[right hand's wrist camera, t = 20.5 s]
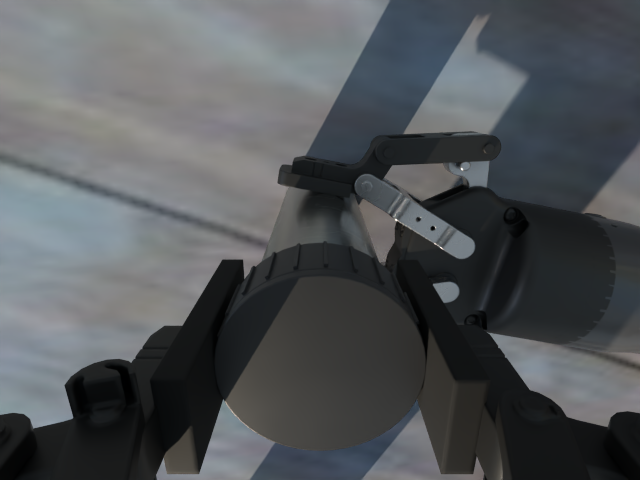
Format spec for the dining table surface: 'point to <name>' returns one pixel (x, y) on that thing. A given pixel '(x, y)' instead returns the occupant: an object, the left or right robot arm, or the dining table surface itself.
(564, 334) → the left robot arm
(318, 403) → the lid
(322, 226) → the thermos
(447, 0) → the dining table surface
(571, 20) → the dining table surface
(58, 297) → the dining table surface
